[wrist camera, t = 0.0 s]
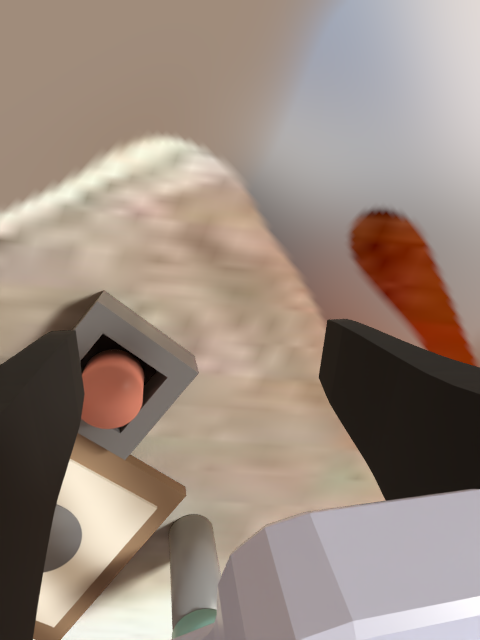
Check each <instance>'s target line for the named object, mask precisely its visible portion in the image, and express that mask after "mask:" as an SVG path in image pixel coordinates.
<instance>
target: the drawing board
mask: <svg viewBox="0 0 480 640" xmlns="http://www.w3.org/2000/svg"><path fill="white" fill-rule="evenodd" d="M185 496H186V489H185V486H183V485H181V484H180V483H178V482H176V481H174V480H173V479H171V478H169V477H168V476H166V475H164V474H162V473H161V472H159V471H157V470H156V469H154V468H152V467H151V466H149V465H147V464H145V463H144V462H142V461H140V460H139V459H137V458H135V457H133V456H132V455H129V456H128V457H127V458H126V460H124V459H122V458H120V457H119V456H117V455H115V454H114V453H112V452H110V451H108V450H107V449H105V448H103V447H101V446H100V445H98V444H96V443H94V442H93V441H91V440H89V439H88V438H86V437H84V436H82V435H81V434H79V433H78V434H77V437H76V440H75V444H74V447H73V450H72V454H71V457H70V460H69V463H68V467H67V470H66V473H65V477H64V480H63V483H62V486H61V490H60V493H59V496H58V500H57V504H56V508H55V512H54V516H53V522H52V527H51V532H50V538H49V543H48V548H47V554H46V560H45V566H44V572H43V577H42V583H41V589H40V595H39V602H38V608H37V615H36V621H35V628H34V635H33V639H35V640H61V639H62V637H63V636H64V635H65V634H66V633H67V632H68V631H69V629H70V628H71V627H72V626H73V625H74V624H75V623H76V621H77V620H78V619H79V618H80V617H81V616H82V615H83V613H84V612H85V611H86V610H87V609H88V608H89V606H90V605H91V604H92V603H93V602H94V601H95V600H96V598H97V597H98V596H99V595H100V594H101V593H102V592H103V590H104V589H105V588H106V587H107V586H108V585H109V584H110V582H111V581H112V580H113V579H114V578H115V577H116V576H117V574H118V573H119V572H120V571H121V570H122V569H123V567H124V566H125V565H126V564H127V563H128V562H129V561H130V559H131V558H132V557H133V556H134V555H135V554H136V553H137V551H138V550H139V549H140V548H141V547H142V546H143V545H144V543H145V542H146V541H147V540H148V539H149V538H150V537H151V535H152V534H153V533H154V532H155V531H156V530H157V528H158V527H159V526H160V525H161V524H162V523H163V522H164V520H165V519H166V518H167V517H168V516H169V515H170V514H171V512H172V511H173V510H174V509H175V508H176V507H177V506H178V504H179V503H180V502H181V501H182V500H183V499H184V498H185Z"/></svg>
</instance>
